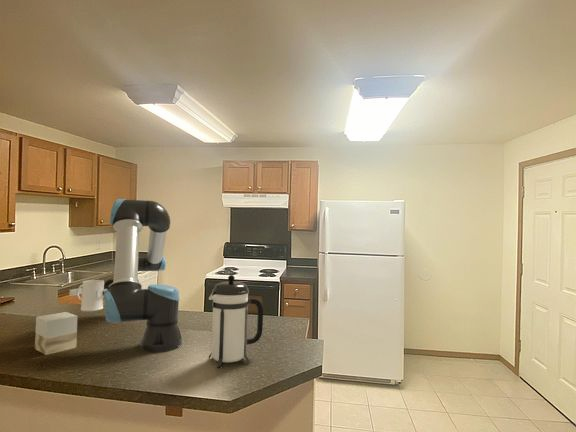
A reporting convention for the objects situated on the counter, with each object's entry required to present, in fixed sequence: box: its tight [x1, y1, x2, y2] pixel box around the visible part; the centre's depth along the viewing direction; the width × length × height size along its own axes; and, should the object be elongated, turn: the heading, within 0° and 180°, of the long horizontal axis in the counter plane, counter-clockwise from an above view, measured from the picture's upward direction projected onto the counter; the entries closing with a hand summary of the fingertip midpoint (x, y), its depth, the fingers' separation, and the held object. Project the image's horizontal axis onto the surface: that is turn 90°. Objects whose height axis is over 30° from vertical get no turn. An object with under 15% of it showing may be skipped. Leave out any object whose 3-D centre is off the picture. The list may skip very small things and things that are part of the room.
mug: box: [76, 279, 105, 312], centre depth 146 cm, size 12×8×12 cm
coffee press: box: [208, 274, 264, 369], centre depth 119 cm, size 17×16×30 cm
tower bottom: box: [34, 331, 78, 356], centre depth 126 cm, size 10×10×6 cm
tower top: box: [34, 311, 79, 338], centre depth 126 cm, size 10×10×6 cm
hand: (83, 293), depth 142 cm, fingers closed on mug, 11 cm apart
